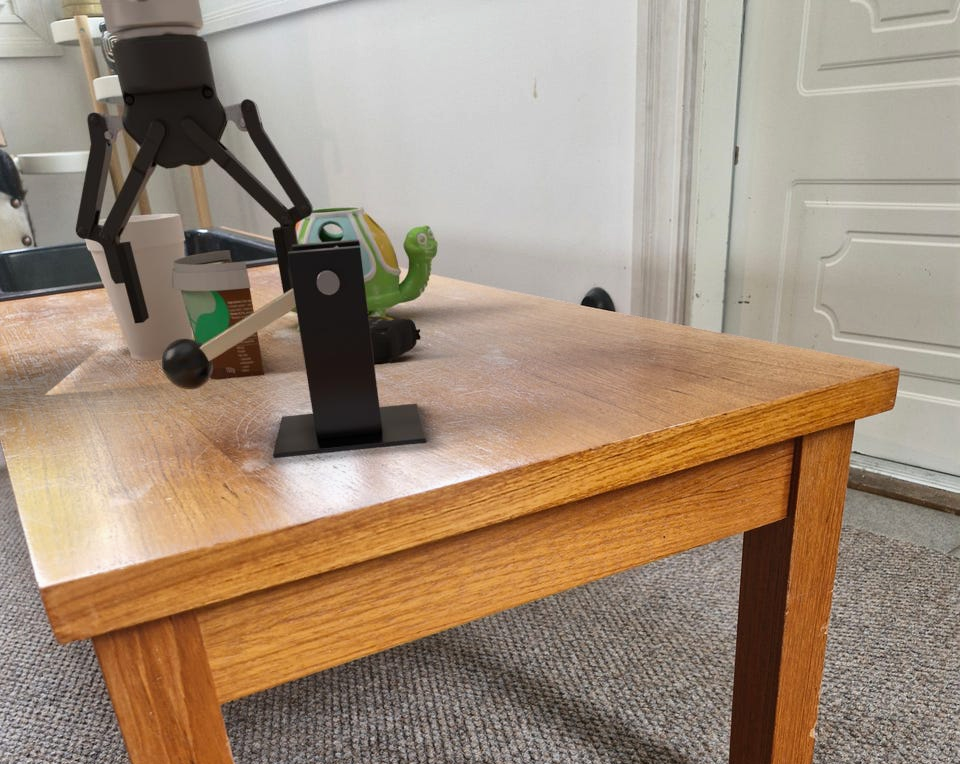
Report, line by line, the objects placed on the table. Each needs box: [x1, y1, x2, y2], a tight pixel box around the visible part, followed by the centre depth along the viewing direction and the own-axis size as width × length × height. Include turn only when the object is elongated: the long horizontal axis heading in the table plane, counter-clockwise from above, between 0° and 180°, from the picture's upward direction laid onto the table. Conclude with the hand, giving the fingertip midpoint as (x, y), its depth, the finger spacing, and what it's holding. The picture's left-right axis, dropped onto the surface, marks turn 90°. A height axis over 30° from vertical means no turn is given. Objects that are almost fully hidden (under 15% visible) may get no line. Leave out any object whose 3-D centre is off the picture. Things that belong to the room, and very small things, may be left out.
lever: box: [161, 246, 338, 390], centre depth 58 cm, size 14×3×3 cm, turn 98°
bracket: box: [272, 239, 427, 459], centre depth 60 cm, size 10×9×13 cm
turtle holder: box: [280, 205, 438, 333], centre depth 101 cm, size 12×18×12 cm
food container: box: [172, 249, 265, 380], centre depth 83 cm, size 12×6×10 cm, turn 21°
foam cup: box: [84, 213, 193, 361], centre depth 92 cm, size 10×9×13 cm
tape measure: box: [369, 316, 421, 364], centre depth 84 cm, size 7×7×4 cm
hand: (217, 313), depth 83 cm, fingers open, 13 cm apart
